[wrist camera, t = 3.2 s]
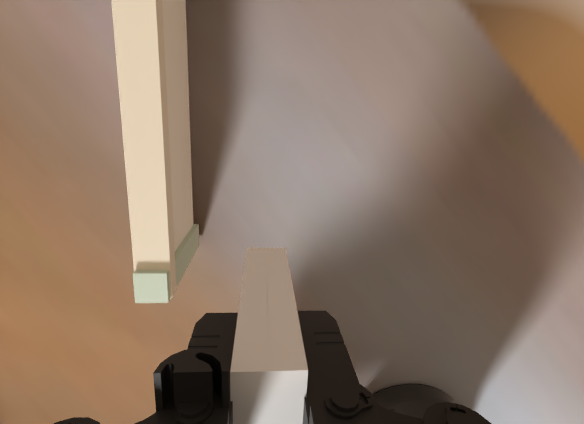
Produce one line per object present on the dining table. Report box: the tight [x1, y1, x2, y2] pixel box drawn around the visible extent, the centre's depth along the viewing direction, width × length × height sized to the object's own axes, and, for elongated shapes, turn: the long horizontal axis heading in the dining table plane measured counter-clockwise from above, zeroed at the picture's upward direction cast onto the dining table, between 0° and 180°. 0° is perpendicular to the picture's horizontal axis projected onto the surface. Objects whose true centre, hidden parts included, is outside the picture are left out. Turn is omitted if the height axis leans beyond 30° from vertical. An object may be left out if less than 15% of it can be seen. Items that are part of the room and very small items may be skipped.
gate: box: [111, 0, 199, 303], centre depth 22 cm, size 25×3×12 cm, turn 178°
